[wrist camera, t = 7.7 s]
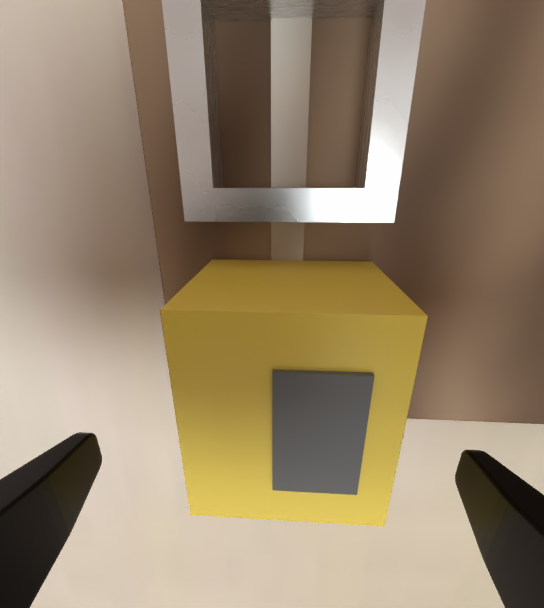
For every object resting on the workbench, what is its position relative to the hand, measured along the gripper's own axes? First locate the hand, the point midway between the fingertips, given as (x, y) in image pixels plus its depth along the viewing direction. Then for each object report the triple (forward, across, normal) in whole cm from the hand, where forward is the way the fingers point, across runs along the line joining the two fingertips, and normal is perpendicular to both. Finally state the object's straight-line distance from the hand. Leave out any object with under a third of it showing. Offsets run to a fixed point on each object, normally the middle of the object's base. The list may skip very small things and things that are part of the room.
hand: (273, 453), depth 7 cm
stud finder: (+6, 0, 0) cm, 6 cm away
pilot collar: (+6, 0, -8) cm, 10 cm away
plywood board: (+7, -5, -4) cm, 10 cm away
